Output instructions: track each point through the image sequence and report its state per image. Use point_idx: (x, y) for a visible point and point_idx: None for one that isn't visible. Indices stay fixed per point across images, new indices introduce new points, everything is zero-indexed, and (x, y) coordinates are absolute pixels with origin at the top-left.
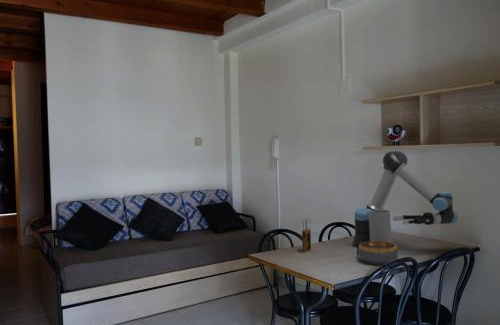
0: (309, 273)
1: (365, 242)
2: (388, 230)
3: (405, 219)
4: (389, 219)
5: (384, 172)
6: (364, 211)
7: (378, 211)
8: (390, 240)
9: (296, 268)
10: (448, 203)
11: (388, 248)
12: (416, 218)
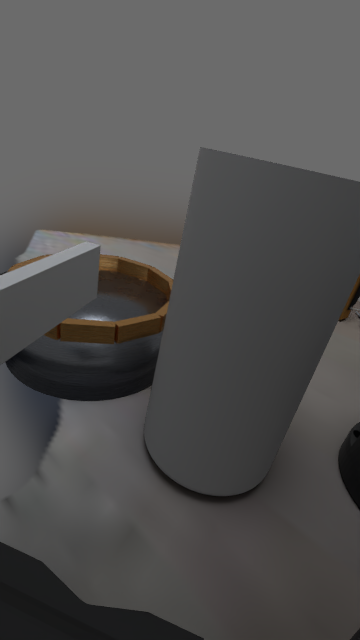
0: (121, 241)
1: (169, 288)
2: (169, 308)
3: (77, 252)
4: (195, 232)
5: None
6: None
7: None
8: (160, 385)
9: (166, 247)
10: None
11: (16, 268)
12: (122, 630)
